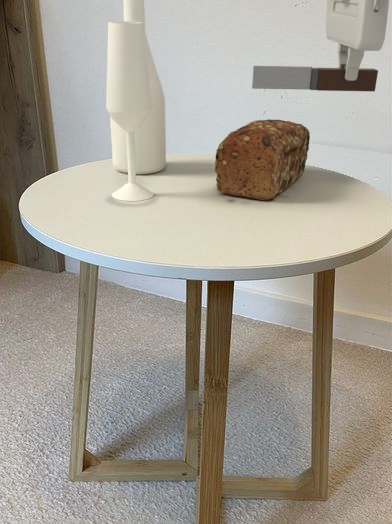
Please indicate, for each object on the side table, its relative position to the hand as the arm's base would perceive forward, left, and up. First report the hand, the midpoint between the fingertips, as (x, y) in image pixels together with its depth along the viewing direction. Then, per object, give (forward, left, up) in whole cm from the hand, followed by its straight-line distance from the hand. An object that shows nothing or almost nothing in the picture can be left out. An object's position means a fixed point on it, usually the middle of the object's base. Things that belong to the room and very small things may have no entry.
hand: (346, 78), depth 93 cm
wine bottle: (+34, +2, -17) cm, 38 cm away
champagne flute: (+29, +17, -17) cm, 38 cm away
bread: (+11, +4, -17) cm, 21 cm away
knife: (+5, +2, -2) cm, 6 cm away
